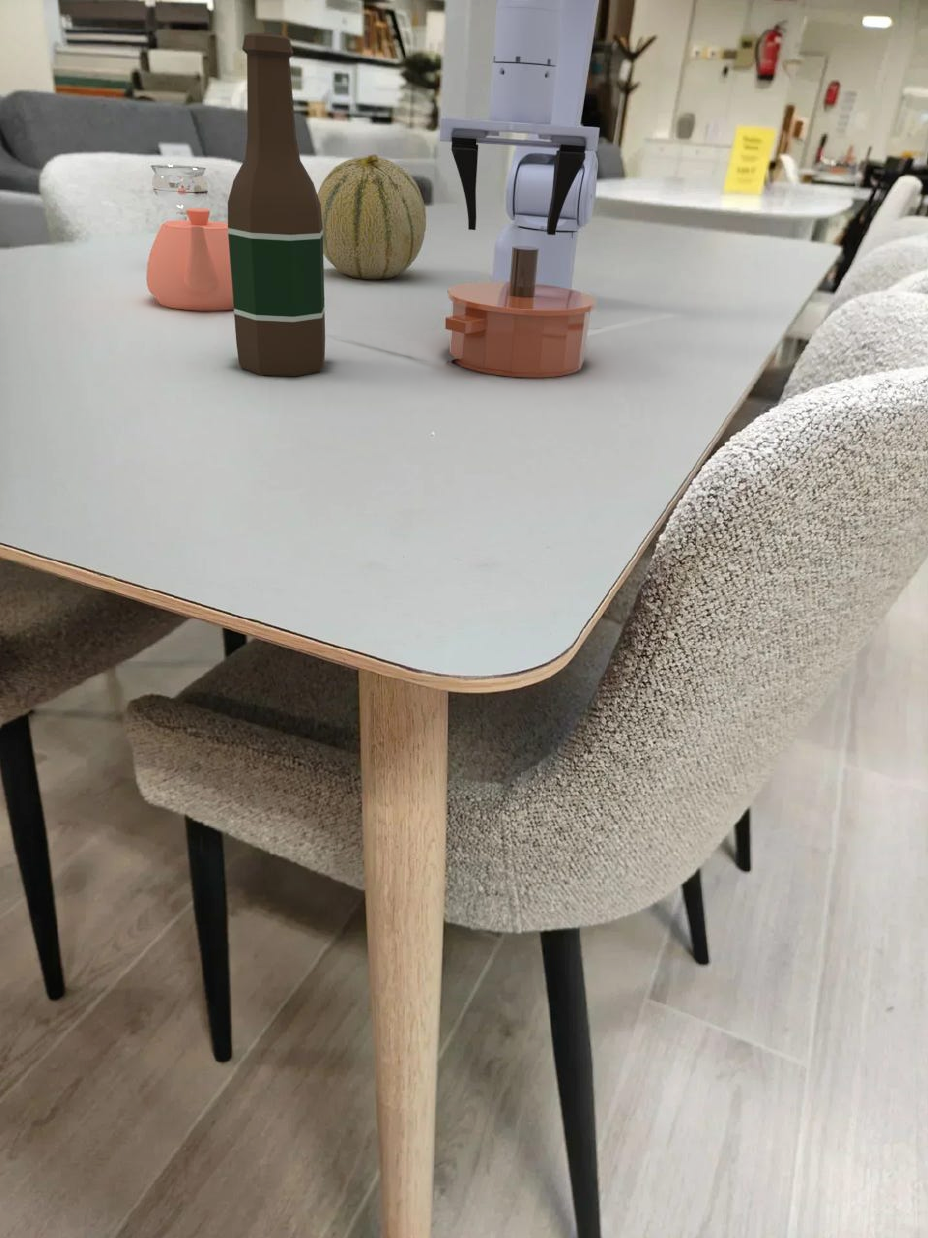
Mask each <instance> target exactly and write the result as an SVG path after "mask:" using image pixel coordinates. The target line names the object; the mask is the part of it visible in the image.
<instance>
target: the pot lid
mask: <svg viewBox="0 0 928 1238" xmlns="http://www.w3.org/2000/svg"><path fill="white" fill-rule="evenodd" d="M538 257H539V248H536V247H530V246H513V247H512V259H511V271H510V282H492V281H478V282H477V281H476V282H475V281H473V282H465V283H460V284H456V285H453V286H451V287H449V288H447V298H448V299H449V300H450V301H451V302H452V301H453V302H455V303H457V304H460V305H463V306H466V307H470V308H474V309H479V310H484V311H490V312H497V313H505V314H515V315H528V316H566V315H576V314H582V313H586V312H589V311H590V312H592V311H594V310H595V308H596V305H597V300H596V299H595V298H594V297H593V296H591V295H589V294H587V293H584V292H581V291H579V290H578V291H577V290H574V289H571V290H570V289H566V288H560V287H555V286H548V285H540V284H536V278H537V267H538Z"/></svg>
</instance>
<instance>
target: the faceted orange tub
mask: <svg viewBox="0 0 928 1238" xmlns="http://www.w3.org/2000/svg"><path fill="white" fill-rule="evenodd" d="M590 316H591V311H589V312H586V313H582V314H576V315H566V316H528V315H515V314H505V313H497V312H490V311H484V310H479V309H474V308H470V307H466V306H463V305H460V304H457V303H455V302H453V301H451V305H450V316H446V317H445V321H444V324H445V325H444V329H445V330H447V331H449V345H448V346H449V347H448V349H449V353H450V355H451V356H453V357H454V358H453V359H451V361H452V362H453V363H454V364H455V365H458V366H460V367H463V368H465V369H467V370H471V371H474V372H479V373H482V374H488V375H494V376H502V377H511V378H524V379H525V378H528V379H539V378H543V379H544V378H557V377H562V376H563V377H564V376H568V375H572V374H574V373H577V372H579V371H580V370H581V369H582V367H583V363H584V362H585V356H586V355H585V354H586V347H587V341H588V339H587V338H588V331H589V324H590Z"/></svg>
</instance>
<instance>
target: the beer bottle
mask: <svg viewBox="0 0 928 1238" xmlns="http://www.w3.org/2000/svg"><path fill="white" fill-rule="evenodd" d="M241 48H242V49H241V50H242V51H243V52H244V53H245V55H246V103H247V104H246V106H247V107H246V109H247V111H246V112H247V113H246V114H247V115H246V117H247V119H246V120H247V123H246V124H247V125H246V126H247V133H246V134H247V137H246V146H245V147H246V148H245V157H244V160H243V162H242V163H241V166H240V167H239V169H238V171H237V172H236V175H235V177H234V178H233V181H232V184H231V188H230V193H229V195H228V196H229V197H228V200H227V223H228V237H229V250H230V264H231V278H232V292H233V306H234V310H233V317H234V329H235V331H234V332H235V343H236V351H237V352H236V353H237V360H238V364H239V366H240V368H241V369H244V370H246V371H248V372H251V373H254V374H257V375H259V376H274V377H299V376H304V375H310V374H314V373H320V372H321V371H322V368H323V365H324V362H325V359H326V358H325V355H326V321H325V320H326V317H325V316H326V315H325V314H326V313H325V311H326V310H325V309H326V307H325V271H324V270H325V266H324V265H325V264H324V261H325V260H324V253H323V226H322V214H321V204H320V201H319V198H318V195H317V194H318V191H317V189H316V186H315V184H314V183H315V182H314V181H313V180H312V178H311V176H310V175H309V173H308V171H307V170H306V167H305V166H304V164H303V163H302V160H301V157H300V152H299V151H300V150H299V145H298V140H297V131H296V120H295V109H294V95H293V85H292V84H293V83H292V74H291V62H290V58H292V57H293V55H294V50H293V47H292V43H291V39H289V38H288V37H286V36H284V35H283V34H276V33H268V32H267V33H265V32H249V33H247V34H245V35H244V37H243V42H242V47H241Z"/></svg>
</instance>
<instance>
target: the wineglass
mask: <svg viewBox="0 0 928 1238" xmlns="http://www.w3.org/2000/svg"><path fill="white" fill-rule="evenodd" d="M150 168H151V170H152V171H153V177H152V183H151V185H152V189H153V192H154V194H155V197H156V198H157V199H158V200H159V202H160V203H161V204H162V205H163V206H164V207H166V208H168V209H170V210H171V211H173V212H175V214H176V215H177V217H179V220H188V219H187V217H188V215H187V213H186V209H188V208H201V206H202V205H203V204H204V202H205V200H206V199H207V196H208V192H209V190H208V188H209V187H208V182H207V180H206V179H205V176H204V174H205V172H206V167H201V166H193V165H177V164H176V165H175V164H153V165H150Z"/></svg>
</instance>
